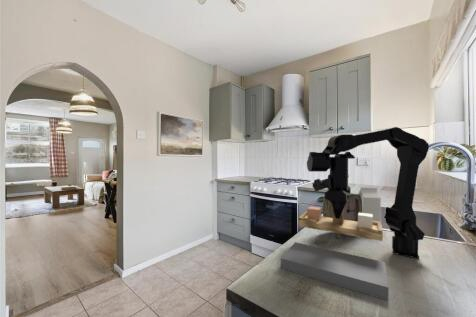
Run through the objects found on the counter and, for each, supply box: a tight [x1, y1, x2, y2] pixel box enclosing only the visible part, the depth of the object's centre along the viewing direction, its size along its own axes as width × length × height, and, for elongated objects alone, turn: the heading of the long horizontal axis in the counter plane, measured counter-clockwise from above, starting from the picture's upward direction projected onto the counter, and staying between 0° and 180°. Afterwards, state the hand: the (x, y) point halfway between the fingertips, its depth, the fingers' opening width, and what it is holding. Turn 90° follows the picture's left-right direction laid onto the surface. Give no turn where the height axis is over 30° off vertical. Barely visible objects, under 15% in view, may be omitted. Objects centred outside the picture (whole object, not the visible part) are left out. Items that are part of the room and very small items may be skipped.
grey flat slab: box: [280, 241, 389, 301], centre depth 62 cm, size 26×14×3 cm, turn 58°
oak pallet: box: [297, 209, 384, 242], centre depth 74 cm, size 25×10×9 cm, turn 58°
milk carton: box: [357, 186, 382, 222], centre depth 99 cm, size 7×7×19 cm
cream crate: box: [358, 213, 373, 229], centre depth 69 cm, size 4×4×4 cm
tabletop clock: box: [322, 192, 362, 239], centre depth 91 cm, size 14×9×25 cm, turn 117°
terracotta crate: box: [307, 206, 322, 221], centre depth 78 cm, size 4×4×4 cm
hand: (338, 216), depth 74 cm, fingers closed on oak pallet, 4 cm apart
